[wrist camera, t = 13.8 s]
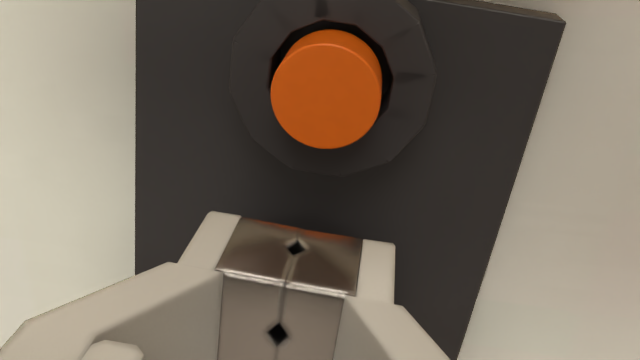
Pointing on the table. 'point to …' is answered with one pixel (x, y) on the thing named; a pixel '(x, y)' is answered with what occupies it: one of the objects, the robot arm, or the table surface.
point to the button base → (352, 160)
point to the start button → (327, 89)
